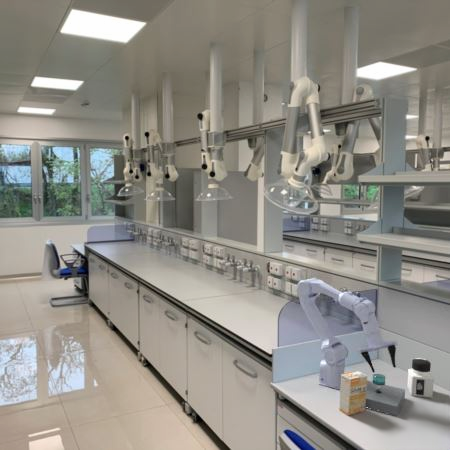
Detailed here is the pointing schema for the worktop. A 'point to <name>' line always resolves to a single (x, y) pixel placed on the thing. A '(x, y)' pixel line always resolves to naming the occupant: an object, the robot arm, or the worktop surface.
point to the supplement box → (353, 392)
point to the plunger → (378, 381)
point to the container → (420, 378)
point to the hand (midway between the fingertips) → (384, 369)
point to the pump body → (384, 398)
